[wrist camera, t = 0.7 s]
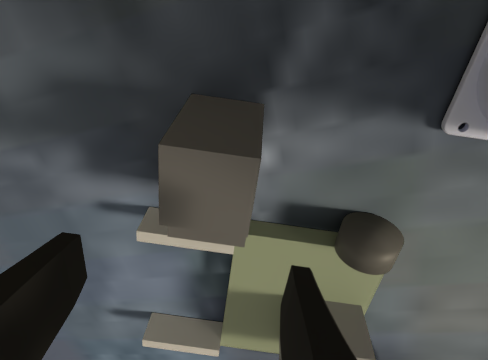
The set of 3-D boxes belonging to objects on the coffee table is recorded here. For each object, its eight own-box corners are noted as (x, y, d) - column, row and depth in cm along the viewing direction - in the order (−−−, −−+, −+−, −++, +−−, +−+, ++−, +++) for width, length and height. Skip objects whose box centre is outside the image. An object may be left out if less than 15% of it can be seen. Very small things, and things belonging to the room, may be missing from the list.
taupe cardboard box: (264, 103, 19) (261, 159, 13) (249, 193, 22) (242, 269, 16) (191, 93, 19) (158, 144, 13) (187, 185, 22) (159, 257, 16)
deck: (396, 216, 22) (436, 296, 17) (332, 358, 30) (345, 441, 25) (148, 181, 22) (108, 250, 16) (152, 332, 30) (126, 411, 25)
